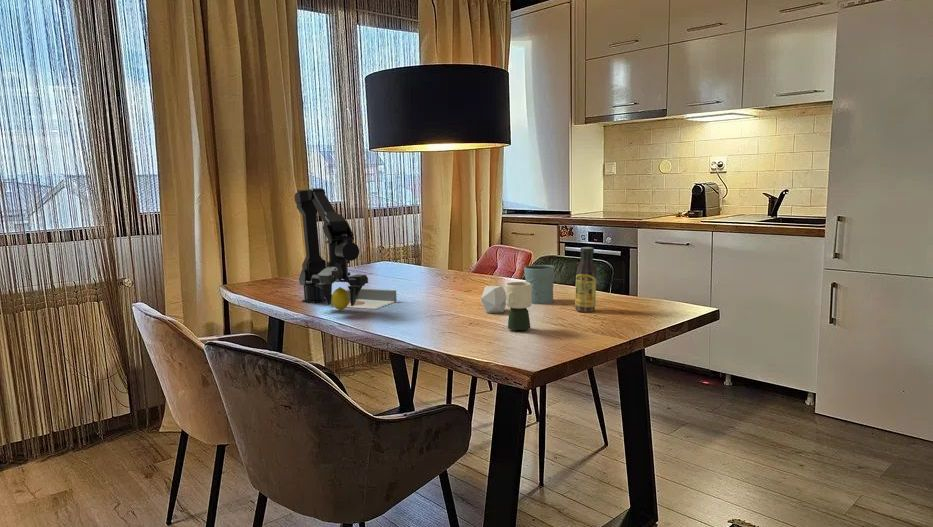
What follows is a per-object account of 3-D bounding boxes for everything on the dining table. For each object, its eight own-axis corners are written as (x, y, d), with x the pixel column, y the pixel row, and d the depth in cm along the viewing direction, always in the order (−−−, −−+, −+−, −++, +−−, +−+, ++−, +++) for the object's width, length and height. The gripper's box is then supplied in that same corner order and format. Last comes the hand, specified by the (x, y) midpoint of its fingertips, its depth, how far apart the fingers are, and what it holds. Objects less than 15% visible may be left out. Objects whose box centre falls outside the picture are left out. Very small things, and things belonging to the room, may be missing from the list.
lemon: (347, 312, 201) (346, 288, 200) (330, 313, 201) (329, 288, 200) (351, 309, 206) (350, 285, 205) (334, 309, 207) (333, 285, 206)
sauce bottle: (572, 312, 192) (572, 248, 189) (578, 308, 198) (578, 246, 195) (593, 313, 189) (593, 248, 186) (598, 309, 194) (598, 246, 192)
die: (499, 318, 190) (515, 290, 192) (474, 303, 191) (490, 276, 193) (498, 321, 198) (513, 295, 200) (473, 308, 199) (489, 281, 201)
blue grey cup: (547, 305, 203) (546, 269, 201) (519, 303, 208) (518, 267, 206) (559, 300, 211) (559, 265, 210) (532, 297, 216) (532, 263, 215)
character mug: (517, 324, 178) (516, 279, 176) (539, 327, 174) (538, 281, 173) (498, 332, 169) (496, 285, 167) (521, 335, 165) (520, 287, 164)
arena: (330, 306, 212) (329, 295, 211) (353, 298, 224) (352, 288, 224) (375, 309, 204) (374, 297, 204) (396, 301, 217) (396, 290, 216)
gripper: (298, 260, 198) (302, 308, 200) (348, 262, 190) (350, 311, 193) (320, 256, 208) (323, 301, 210) (367, 257, 200) (370, 304, 203)
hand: (340, 305), depth 204 cm, fingers open, 9 cm apart
